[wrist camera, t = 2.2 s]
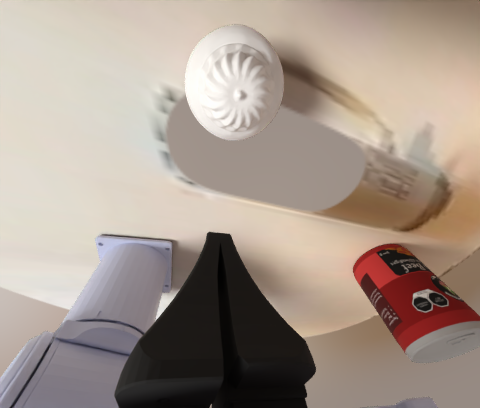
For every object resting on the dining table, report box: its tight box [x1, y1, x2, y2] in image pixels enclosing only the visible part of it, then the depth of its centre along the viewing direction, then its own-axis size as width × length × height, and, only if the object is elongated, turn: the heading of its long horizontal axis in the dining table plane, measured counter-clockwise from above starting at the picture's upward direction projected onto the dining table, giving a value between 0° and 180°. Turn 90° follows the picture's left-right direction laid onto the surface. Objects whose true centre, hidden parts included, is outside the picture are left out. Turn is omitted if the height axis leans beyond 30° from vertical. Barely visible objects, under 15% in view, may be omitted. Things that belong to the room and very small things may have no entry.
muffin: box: [185, 24, 284, 141], centre depth 12 cm, size 6×6×7 cm
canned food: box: [353, 244, 480, 363], centre depth 25 cm, size 8×8×11 cm
